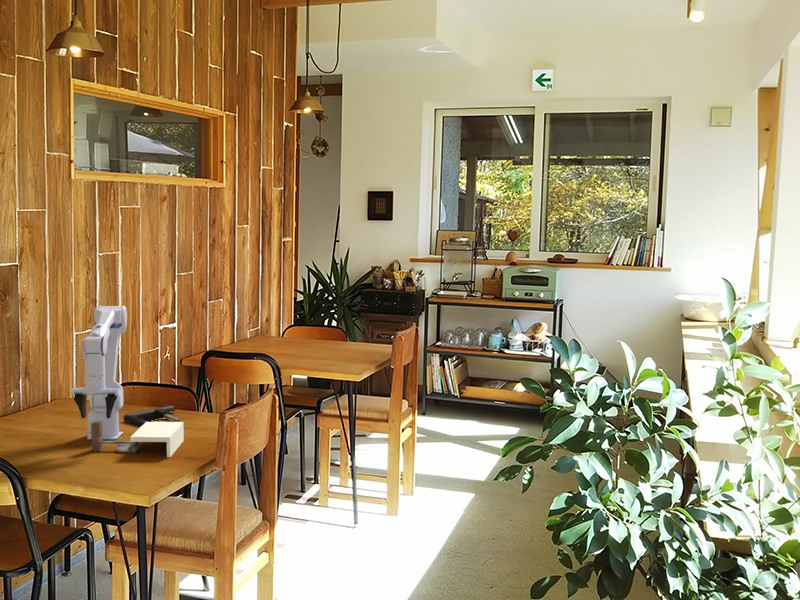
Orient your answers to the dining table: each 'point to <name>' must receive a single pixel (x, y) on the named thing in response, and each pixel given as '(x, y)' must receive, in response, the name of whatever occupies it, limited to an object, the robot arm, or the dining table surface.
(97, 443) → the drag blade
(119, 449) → the grey round disc
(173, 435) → the white bridge block
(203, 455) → the dining table surface
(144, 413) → the door handle
